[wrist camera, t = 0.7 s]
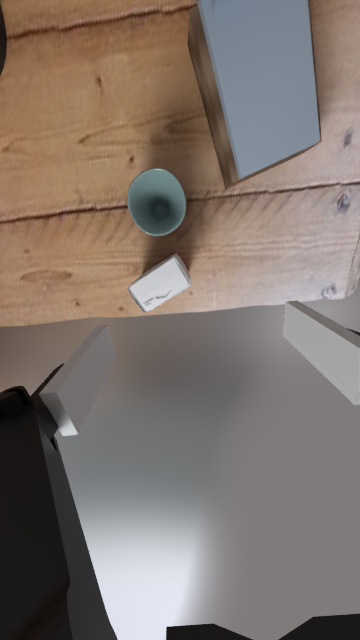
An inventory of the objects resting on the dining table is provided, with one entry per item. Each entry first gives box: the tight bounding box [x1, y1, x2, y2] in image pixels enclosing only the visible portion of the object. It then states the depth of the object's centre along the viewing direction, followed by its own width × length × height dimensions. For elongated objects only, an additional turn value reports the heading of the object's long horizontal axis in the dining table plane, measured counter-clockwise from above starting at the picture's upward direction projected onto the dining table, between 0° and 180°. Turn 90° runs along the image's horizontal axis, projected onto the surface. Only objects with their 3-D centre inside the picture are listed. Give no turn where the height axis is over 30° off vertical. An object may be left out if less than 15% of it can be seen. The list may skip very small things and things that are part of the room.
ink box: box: [127, 252, 191, 312], centre depth 33 cm, size 9×5×12 cm, turn 122°
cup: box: [127, 168, 186, 236], centre depth 30 cm, size 8×8×10 cm
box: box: [188, 0, 322, 189], centre depth 27 cm, size 18×13×4 cm
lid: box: [198, 0, 320, 180], centre depth 23 cm, size 18×11×4 cm, turn 22°
